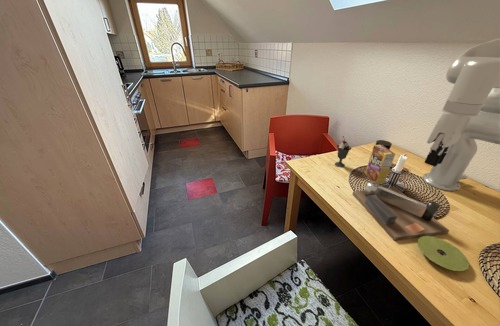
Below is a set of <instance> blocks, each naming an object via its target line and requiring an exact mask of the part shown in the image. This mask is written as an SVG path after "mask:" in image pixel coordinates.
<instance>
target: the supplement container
mask: <svg viewBox="0 0 500 326" xmlns="http://www.w3.org/2000/svg"><path fill="white" fill-rule="evenodd" d="M374 145H384V146H385V147H386V148H387V149H389V150H390V151H391V147H392V142H390V141H387V140H382V139H378V140H376V142H375V144H374Z"/></svg>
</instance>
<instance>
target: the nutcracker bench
mask: <svg viewBox="0 0 500 326" xmlns="http://www.w3.org/2000/svg"><path fill="white" fill-rule="evenodd" d="M385 188H386V189H389V190H391V191H394V192H396V193H399V194H401V195H404V196H406V197H408V196H407V195H406V194H404V193H403V192H402V191H401V190H399V189H398V188H397V187H396V186H395V187H385ZM364 191H365V189H364V190H363V189H362V190H354V191H352V196H353V197H354V198H355V199H356V200H357V201H358V202H359V204H360V205H361V206H362V207H363V209H364V210H366V212H368V213H369V214H370V216H371V217H372V218H373V220H375V221H376V222H377V223H378V225H379V226H380V227H381V228H382V229H383V230H384V231H385V232H386V234H387V235H388V236H389V237H390V238H391V239H392V240H393V241H401V240H408V239H409V240H411V239H416V238H417V239H419V238H420V237H423V236H432V237H435V236H439V235H447V234H448V233H449V232H450V229H448V228H447V227H446V226H445V225H444V224H442V223H441V222H440V221H439V220H437V219H436V218H434V217H433V218H432V220H431V221H425V220H423V219H422V218H421V217H419V216H417V215H414V214H412V213H410V212H408V211H405V210H403V209H401V208H398V207H396V206H394V205H392V204H389V203H387V202H385V201H383V200H380V199H379V198H378V197H377V196H376V195H368V196H367V195H366V194H365V193H364Z"/></svg>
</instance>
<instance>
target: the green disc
mask: <svg viewBox="0 0 500 326" xmlns="http://www.w3.org/2000/svg"><path fill="white" fill-rule="evenodd" d="M417 246H418V248H419V250H420V251H421V253H422V254H423V255H424V256H425V257H426V258H427V259H428V260H430V261H431V262H433V263H435V264H436V265H438V266H439V267H442V268H445V269H447V270H450V271H454V272H464V271H467V269H469V266H470V263H469V260H468V258H467V257H466V255H465V254H464V253H463V252H462V250H460V249H459V247H456V246H455V245H453V244H451V243H450V242H448V241H447V240H444V239H442V238H439V237H436V236H423V237H418V238H417Z"/></svg>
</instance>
